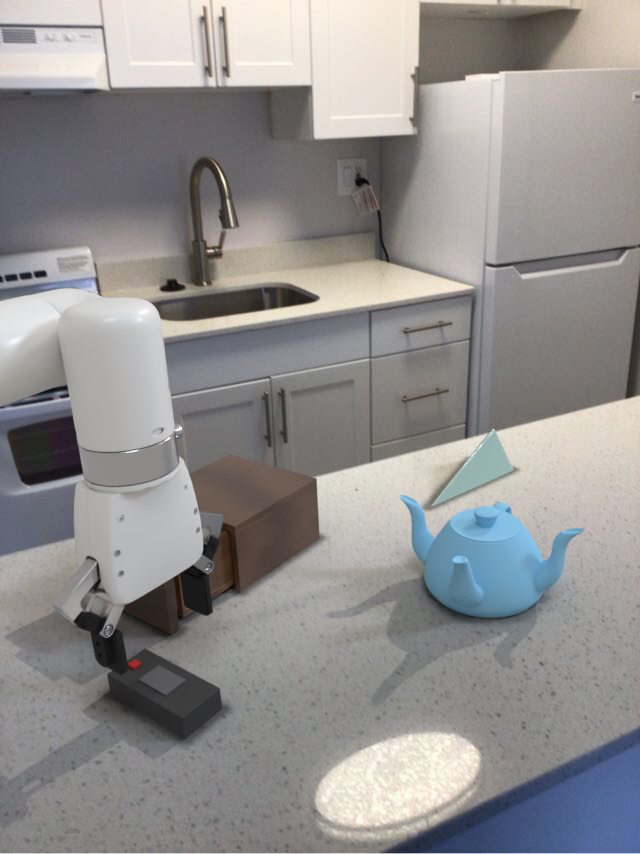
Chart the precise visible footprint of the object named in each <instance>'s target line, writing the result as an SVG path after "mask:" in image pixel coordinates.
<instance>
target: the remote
mask: <svg viewBox="0 0 640 854" xmlns="http://www.w3.org/2000/svg"><path fill="white" fill-rule="evenodd" d="M127 662H128V669H127V672H126V673H124V674H123V675H119V674H118V673H116V672H114V671H112V670H110V671H109V672H108V673H107V674H106V676H107V681H108V688H109V693H110V695H111V696H112V697H114V698H116V699H118V700H119V701H121V702H123V703H124V704H126V705H127V706H129V707H131V708H133V709H134V710H136V711H137V712H139V713H140V714H142V715H144V716H145V717H147V718H149V719H150V720H152V721H154V722H156V723H157V724H159V725H161V726H162V727H164V728H165V729H167V730H168V731H170V732H172V733H174V734H175V735H177V736H179V737H180V738H182V739H183V740H186V739H188V738H189V737H190V736H191V735H193V734H194V733H195V732H196V731H197V730H199V729H201V727H202V726H203V725H205V724H206V723H207V722H209V721H210V720H211V719H212V718H213V717H215V716H216V715H217V714H218V713H219V712H220V711H222V710H223V703H222V695H221V688H220V687H218V686H217V685H216V684H215V685H214V684H213V683H211V682H209V681H207V680H205V679H204V678H202V677H200V676H198V675H196V674H194V673H192V672H191V671H188V670H186V669H185V668H182V667H181V666H179V665H177V664H175V663H173V662H171V661H169V660H168V659H165V658H164V657H162V656H160V655H158V654H156V653H155V652H153V651H151V650H149V649H147V648H144V649H142V650H141V651H139V652H138V653H136V654H135V655H133V656H132V657H130V658H128V659H127Z"/></svg>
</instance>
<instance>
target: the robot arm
mask: <svg viewBox="0 0 640 854" xmlns="http://www.w3.org/2000/svg"><path fill="white" fill-rule="evenodd" d="M168 371H169V370H168V364H167V357H166V349H165V341H164V333H163V326H162V318H161V314H160V311H158V309H157V308H156V306H155V305H154V304H153V303H152V302H150V301H148V300H146V299H142V298H139V297H130V296H123V297H122V296H119V297H117V296H116V297H105V296H103V295H99V294H97V293H93V292H91V291H88V290H85V289H81V288H74V287H62V288H56V289H51V290H50V289H49V290H46V291H41V292H36V293H33V294H26V295H22V296H17V297H12V298H9V299H3V300H0V407H4V406H7V405H10V404H12V403H15V402H18V401H21V400H24V399H26V398H29V397H32V396H34V395H37V394H39V393H42V392H45V391H48V390H50V389H53V388H58V387H61V386H65V385H67V391H68V397H69V401H70V407H71V414H72V419H73V425H74V430H75V435H76V442H77V447H78V453H79V459H80V464H81V468H82V475H83V479H82V480H80V481H78V482H77V483H75V488H74V498H73V534H74V545H75V547H74V548H75V556H76V563H77V564H76V565H77V571H75V573H73V575H72V577H71V578H69V580H68V581H67V582H66V583H65V585H63V587H62V588H61V589H60V590H59V592H58V593H57V594H56V595H55V596H54V598H53V599H52V603H51V605H52V607H53V608H54V609H55V610H56V611H57V612H58V613H59V614H60V615H61V616H62V617H63V618H65V619H66V621H67V622H68V623H69V624H71V625H73V626H75V627H77V628H79V629H81V630H83V631H86V632H90V637H91V638H90V639H91V643H92V647H93V653H94V658H95V661H96V662H97V664H98V665H100V666H101V667H103V668H105V669H106V668H107V669H109V670H110V671H114V672H116V673H118V674H119V675H123V674H124V673H126V672H127V669H128V662H127V660H128V657H127V651H126V645H125V640H124V633H123V632H122V631H121V629H118V628H117V626H118V623H119V621H120V619H121V616H122V613H123V612H124V611H123V609H124V607H125V605H126V604H129V603H131V602H133V601H135V600H136V599H138V598H140V597H142V596H143V595H145V594H147V593H148V592H150V591H152V590H153V589H155V588H157V587H158V586H160V585H162V584H163V583H165V582H167V581H168V580H170V579H171V578H173V577H175V576H176V575H178V574H180V580H181V587H182V594H183V601H184V605H185V607H187V608H189V609H191V610H193V612H195V613H199V614H200V615H202V616H206V617H209V616H210V615H211V614H213V612H214V609H213V601H212V599H211V591H210V583H209V575H208V574H210V573H211V572H212V570H213V568H214V563H213V562H212V560H213V557H214V555H215V553H216V551H217V549H218V547H219V543H220V542H219V539H218V536H220V532H221V528H222V523H223V515H221V514H218V513H215V512H212V511H202V510H199V509H198V504H197V500H196V496H195V492H194V489H193V485H192V481H191V478H190V475H189V474H190V473H189V470H188V468H187V465H186V462H185V460H184V459H183V457H181V456H180V453H179V446H178V440H179V439H181V438H183V436H184V429H183V426H182V425H181V424H179V423H178V422H175V419H174V418H175V417H174V410H173V403H172V394H171V387H170V379H169V372H168ZM201 526H202V527H201ZM91 592H93V594H92V596H91V598H90V601H89V603H88V605H87V606H86V608H85V609H84V608H83V607H82V603H81V601H82V599H83V598H84V596H85V595H86V594H87V593H91ZM106 601H108V602H110V603H109V605H108V607H107V610H106V612H105V614H104V615H103V616H101V612H102V609H103V607H104V605H105V602H106Z"/></svg>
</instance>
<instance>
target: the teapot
mask: <svg viewBox="0 0 640 854" xmlns="http://www.w3.org/2000/svg"><path fill="white" fill-rule="evenodd" d="M398 497H399V499H400V500H401V501H402V502H403V503H404V505H406V507H407V509H408V511H409V514H410V515H409V516H410V518H411V547H412V550H413V552H414V555H415V556H416V557H417V559H418V560H419V561H420V562H421V563H422V564H423V566H424V568H423V579H424V583H425V586H426V588H427V589H428V591H429V593H430V594H431V595H432V596H433V597H434V598H435V599H436V600H437V601H438V602H439V603H441V604H442V605H443V606H445V607H446V608H447V609H450V610H452V611H454V612H457V613H460V614H463V615H466V616H471V617H475V618H482V619H483V618H484V619H485V618H486V619H499V618H507V617H512V616H515V615H518V614H520V613H524V612H525V611H526V610H528V609H529V608H530V607H532V606H533V605H535V603H537V602H538V601H539V599H540V598H541V597H542V595H543V593H544V592H545V591H547V590H548V589H551V588H552V587H553V586H555V584H557V583H558V581H559V580H560V578H561V576H562V574H563V571H564V567H565V559H566V552H567V548H568V545H569V543H570V542H571V541H572V540H573V538H575V537H576V536H578V535H580V534H583V532H585V528H582V527H574V528H567V529H564V530H560V532H558V533H557V534H556V536H555V537H554V539H553V542H552V546H551V552H550V555H549V557H548V558H547V559H545V560H544V559H543V557H542V554H541V551H540V549H539V547H538V545H537V543H536V541H535V539H534V538H533V536H532V535H531V533H530V532H529V530H528V528H527V527H526V526H525V525H524V523H523V522H522V520H520V519H519V518H518V517H517V516H515V515H514V514H512V512H513V511H512V507H511V506H510V504H508V503H506V502H502V501H499V502H495V503H494V504H493V505H492V506H490V505H480V506H477V507H474V508H467V509H464V510H461V511H459V512H457V513H455V514H453V516H452V517H450V518H449V519H448V521H446V523H445V524H444V525H443V527H442V528H441V529H440V531H438V533H437V535H436V536H434V535H432V533H431V532H430V531H429V528H428V526H427V523H426V515H425V512H424V509H423V508H422V505H420V504H421V503H419V502H418V501H417V500H416V499H414V498H412V497H411V496H408V495H405V494H399V495H398Z"/></svg>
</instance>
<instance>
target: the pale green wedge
mask: <svg viewBox="0 0 640 854" xmlns="http://www.w3.org/2000/svg"><path fill="white" fill-rule="evenodd" d="M512 471H514V468H513V466H512V463H511V461H510V459H509V457H508V455H507V452H506V450H505V448H504V446H503V444H502V442H501V439H500V437H499V436H498V433H497V432H496V430H495V429H494V428H493V429H491V430H490V431H489V432H488V433H487V434H486V436H484V438H483V439H482V441H481V442H480V443H479V444H478V445H477V447H476V448H475V449H474V450H473V452H472V453H471V454H470V455H469V456H468V458H467V459H466V460H465V462H464V463H463V464H462V466H460V468H459V469H458V470H457V472H456V473H455V474H454V476H452V478H451V480H450V481H449V482H448V483H447V485H446V486H445V487H444V489H443V490H442V491H441V492H440V493H439V495H438V496H437V497H436V498H435V500H433V503H431V505H430V507H433V506H437V505H438V504H440V503H443V502H445V501H448V500H449V499H452V498H455V497H457V496H459V495H461V494H463V493H465V492H468V491H470V490H472V489H475V488H476V487H479V486H481V485H484V484H486V483H488V482H491V481H493V480H495V479H498V478H499V477H503V476H504V475H506V474H508V473H511V472H512Z"/></svg>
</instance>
